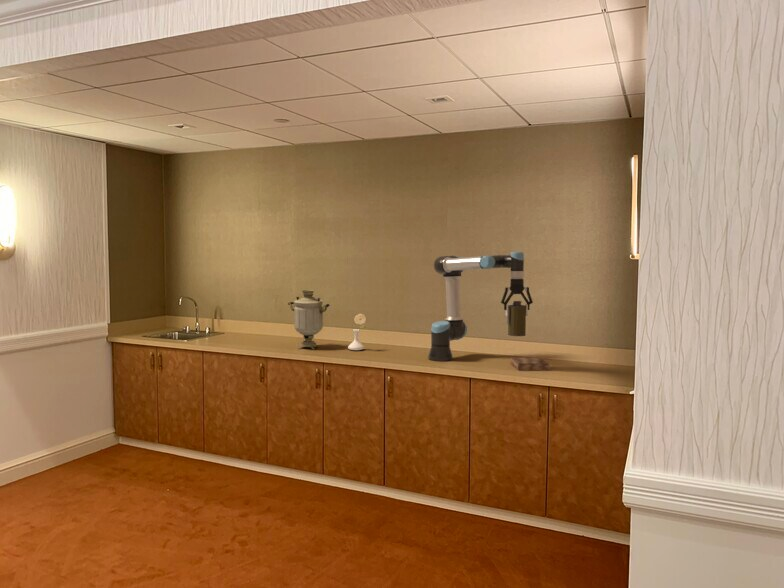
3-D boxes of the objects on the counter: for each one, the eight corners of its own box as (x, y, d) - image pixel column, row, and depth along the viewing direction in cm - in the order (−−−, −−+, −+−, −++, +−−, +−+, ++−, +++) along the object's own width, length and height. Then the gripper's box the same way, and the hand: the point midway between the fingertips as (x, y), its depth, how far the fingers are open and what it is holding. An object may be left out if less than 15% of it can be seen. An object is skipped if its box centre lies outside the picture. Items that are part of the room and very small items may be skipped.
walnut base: (518, 370, 347) (518, 363, 347) (510, 364, 365) (510, 357, 365) (548, 370, 348) (549, 363, 347) (540, 363, 366) (540, 357, 365)
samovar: (340, 346, 423) (339, 289, 419) (316, 352, 400) (315, 292, 397) (307, 342, 438) (306, 287, 435) (282, 347, 416) (281, 290, 413)
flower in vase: (345, 350, 406) (345, 314, 404) (351, 347, 417) (351, 312, 415) (363, 352, 402) (363, 314, 400) (369, 349, 413) (369, 312, 411)
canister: (520, 333, 361) (520, 300, 360) (529, 335, 351) (529, 301, 350) (503, 334, 358) (504, 300, 356) (512, 336, 348) (512, 302, 346)
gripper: (498, 278, 348) (498, 316, 350) (538, 278, 348) (538, 316, 350) (495, 278, 356) (495, 315, 357) (535, 277, 356) (534, 314, 358)
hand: (516, 315), depth 354 cm, fingers closed on canister, 11 cm apart
